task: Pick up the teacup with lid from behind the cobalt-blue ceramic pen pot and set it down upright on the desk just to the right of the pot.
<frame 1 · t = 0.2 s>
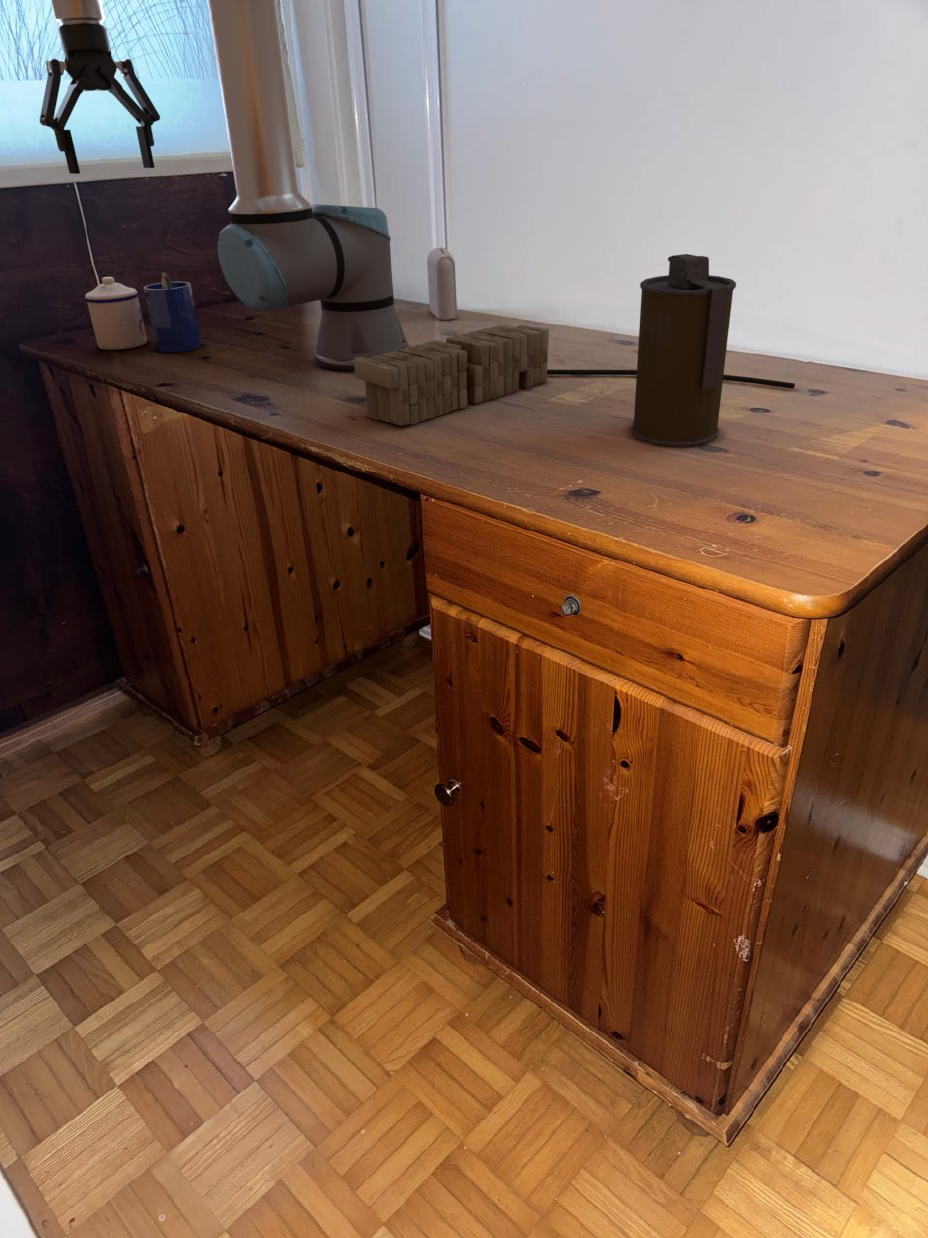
hand: (113, 170, 152), 28 cm above the table, tool pointing down, fingers open, 13 cm apart
teacup with lid: (120, 344, 160), on the table
pen pot: (179, 347, 156), on the table
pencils: (171, 309, 153), in the pen pot, point 6 cm above the table
canister: (675, 434, 106), on the table
block tower: (458, 401, 121), on the table
photo printer: (443, 316, 172), on the table
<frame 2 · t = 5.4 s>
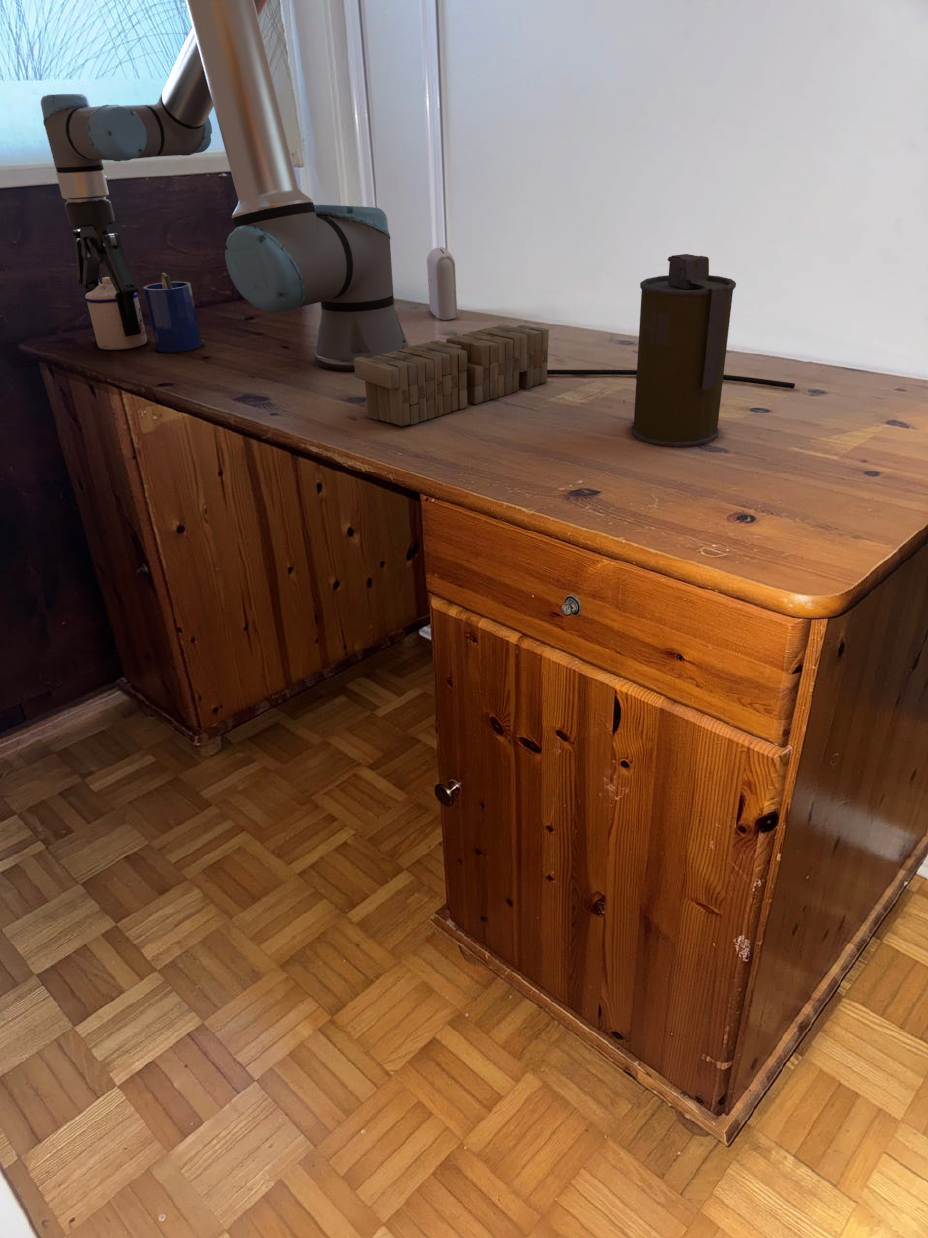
hand: (117, 330, 159), 2 cm above the table, tool pointing down, fingers closed on teacup with lid, 12 cm apart
teacup with lid: (120, 344, 160), on the table, touching gripper
everything else where it was.
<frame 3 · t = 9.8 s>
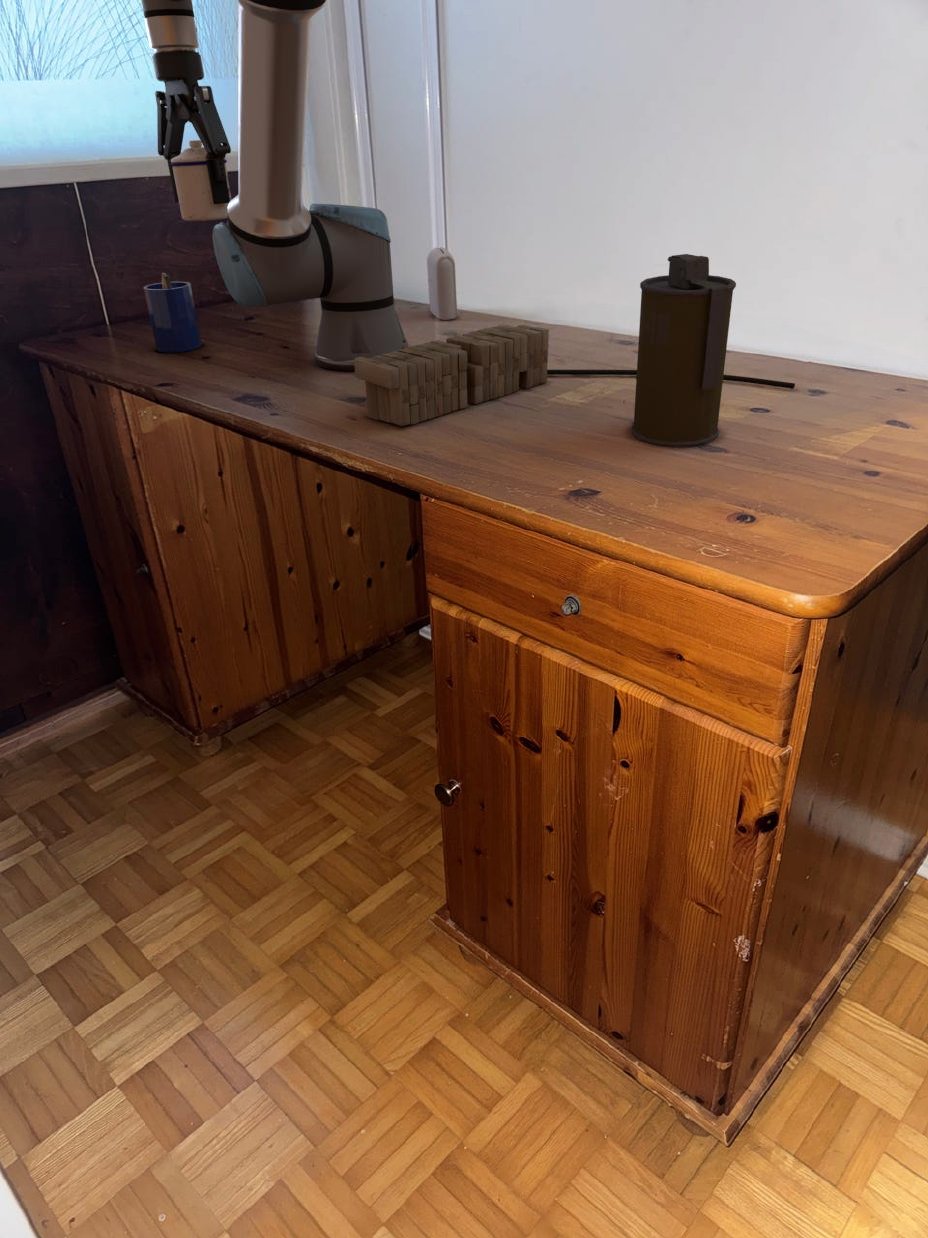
hand: (202, 202, 148), 23 cm above the table, tool pointing down, fingers closed on teacup with lid, 12 cm apart
teacup with lid: (205, 219, 149), point 20 cm above the table, touching gripper
everything else where it was.
when the fingers open (2 cm above the table, at t = 14.1 s): teacup with lid stays where it is, on the table.
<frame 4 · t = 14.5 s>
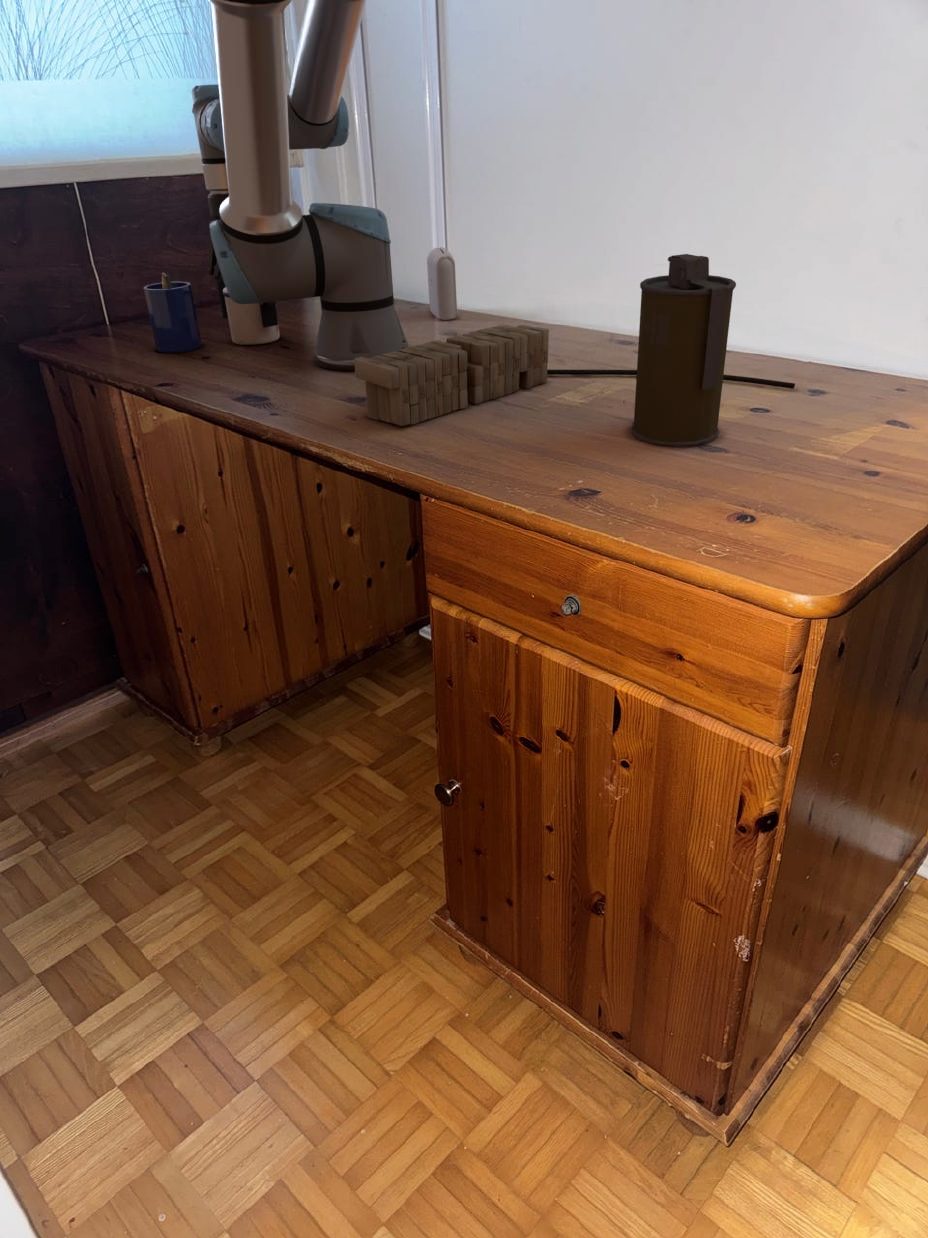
hand: (250, 321, 158), 3 cm above the table, tool pointing down, fingers open, 13 cm apart
teacup with lid: (253, 339, 160), on the table
everything else where it was.
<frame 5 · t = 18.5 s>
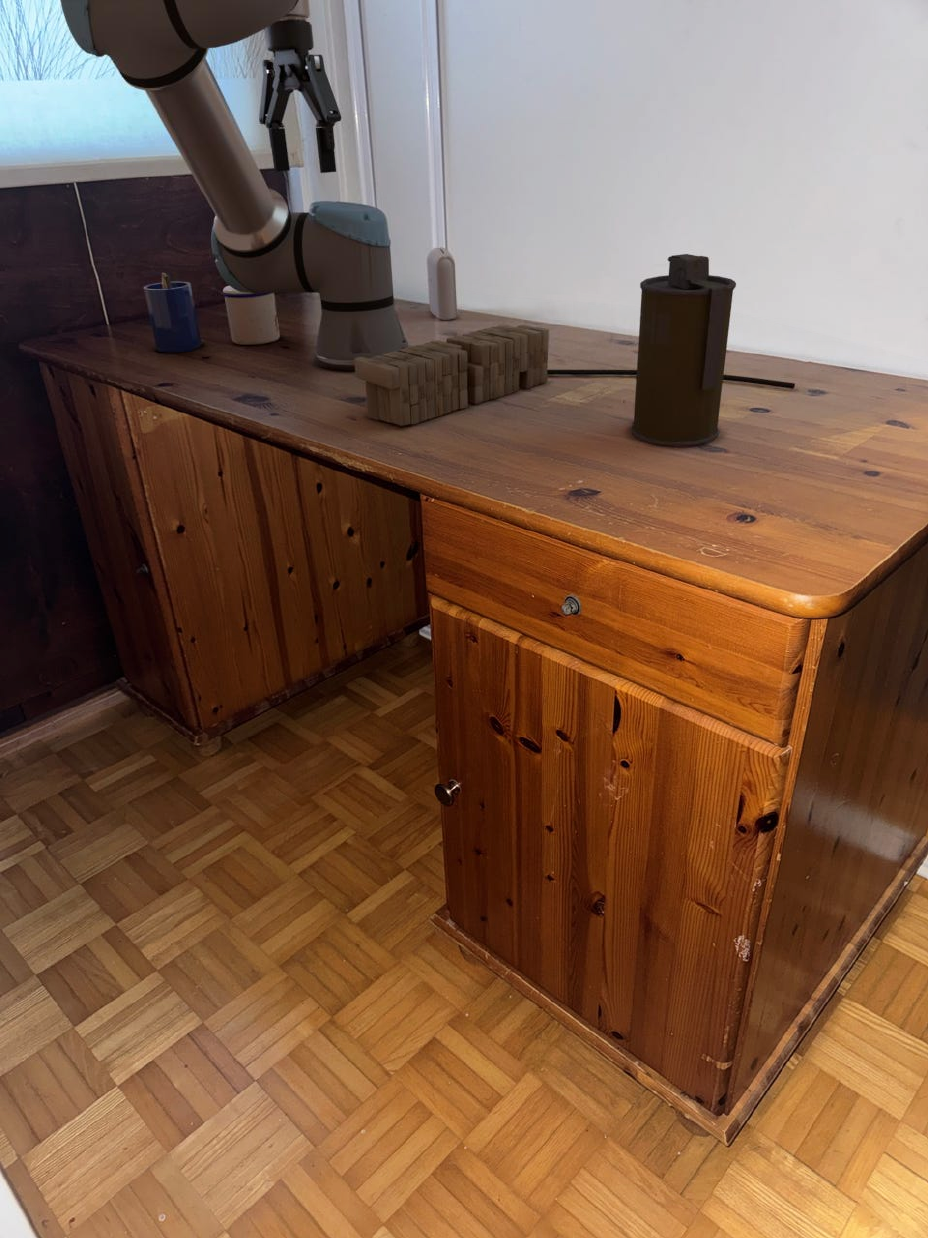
hand: (304, 171, 148), 27 cm above the table, tool pointing down, fingers open, 13 cm apart
nothing on the table moved.
at the end: teacup with lid inside the target area on the table beside the pen pot (0.5 cm from its centre), on the table; teacup with lid tilted 0°; the gripper is holding nothing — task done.
